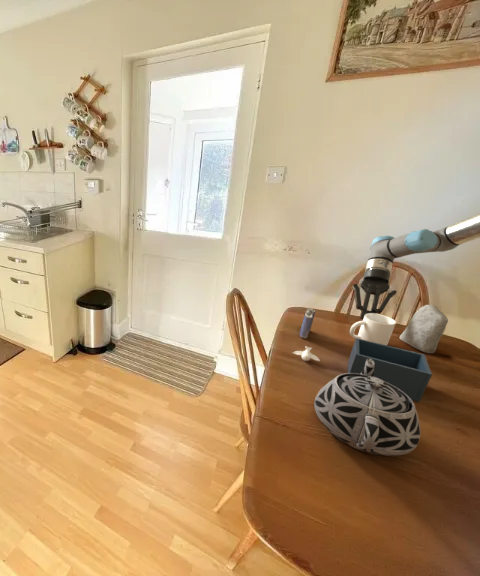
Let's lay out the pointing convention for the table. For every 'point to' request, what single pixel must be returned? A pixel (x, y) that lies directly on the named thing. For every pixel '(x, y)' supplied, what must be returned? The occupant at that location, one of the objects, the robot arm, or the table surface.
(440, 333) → the decorative stone
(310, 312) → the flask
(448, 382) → the table surface
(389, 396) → the teapot
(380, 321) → the mug
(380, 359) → the box
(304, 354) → the toy bird
